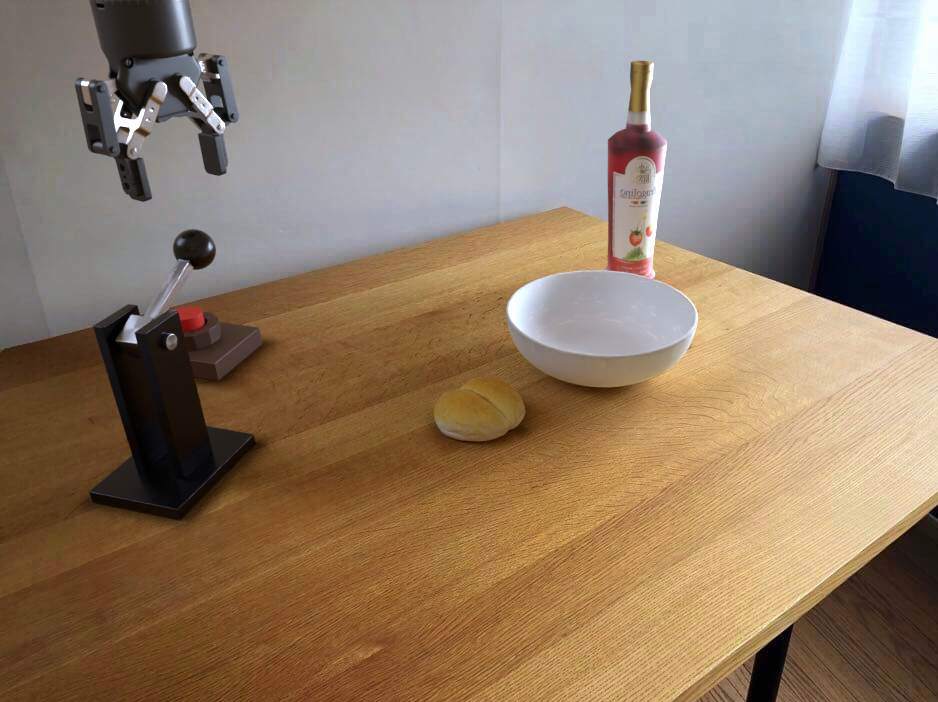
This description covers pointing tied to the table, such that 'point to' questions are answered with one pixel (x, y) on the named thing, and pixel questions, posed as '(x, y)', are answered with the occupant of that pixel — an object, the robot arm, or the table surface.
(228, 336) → the control block
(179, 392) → the bracket
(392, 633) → the table surface
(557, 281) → the serving bowl
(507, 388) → the bread roll
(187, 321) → the stop button
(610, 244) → the liquor
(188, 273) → the lever
